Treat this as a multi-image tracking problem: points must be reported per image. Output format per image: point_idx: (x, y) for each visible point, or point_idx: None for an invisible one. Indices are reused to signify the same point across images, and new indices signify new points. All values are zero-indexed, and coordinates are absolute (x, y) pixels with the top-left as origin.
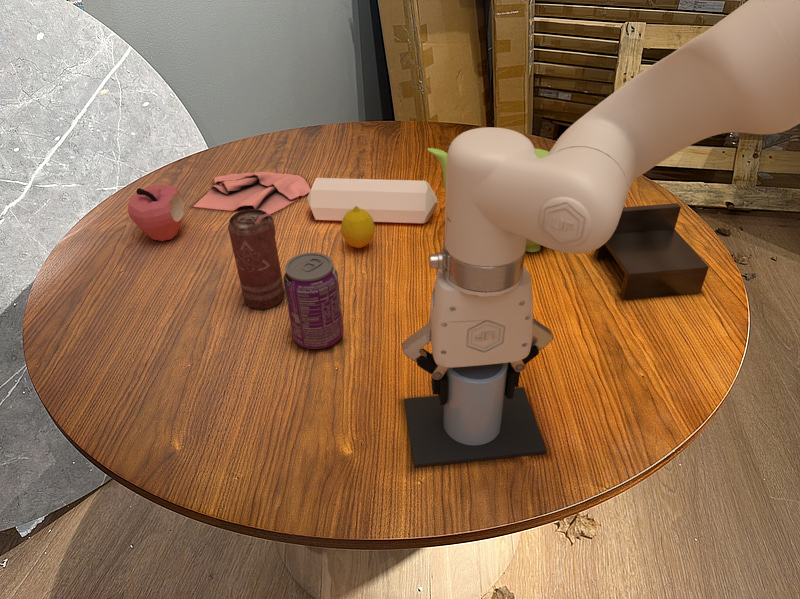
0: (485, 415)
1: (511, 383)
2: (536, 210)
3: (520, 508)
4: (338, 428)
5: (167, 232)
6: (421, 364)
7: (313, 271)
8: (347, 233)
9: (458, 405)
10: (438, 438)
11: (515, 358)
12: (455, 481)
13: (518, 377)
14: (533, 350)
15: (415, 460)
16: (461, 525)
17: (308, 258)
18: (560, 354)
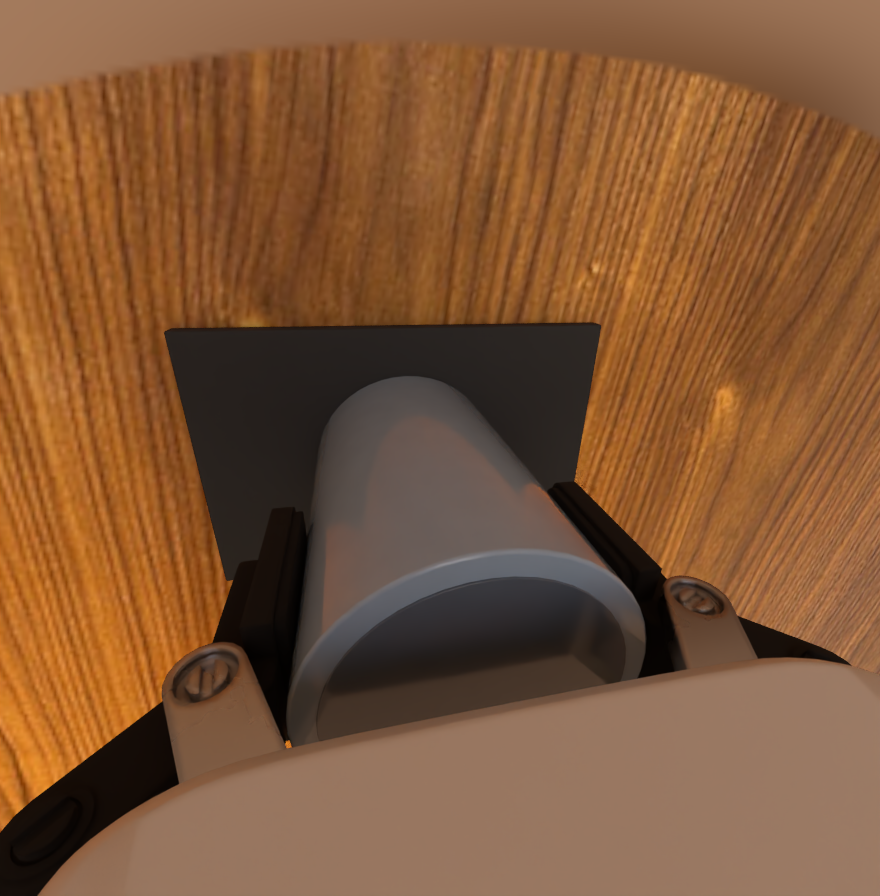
0: (408, 429)
1: (275, 570)
2: None
3: (297, 89)
4: (720, 462)
5: None
6: (836, 660)
7: None
8: None
9: (526, 469)
10: (513, 411)
11: (215, 826)
12: (494, 255)
13: (229, 606)
14: (32, 872)
15: (594, 339)
16: (519, 60)
17: None
18: (93, 691)
